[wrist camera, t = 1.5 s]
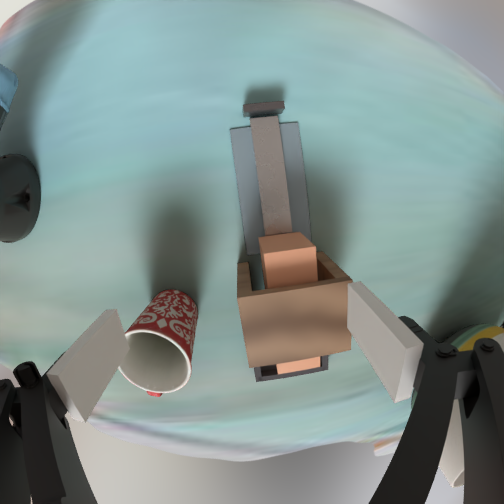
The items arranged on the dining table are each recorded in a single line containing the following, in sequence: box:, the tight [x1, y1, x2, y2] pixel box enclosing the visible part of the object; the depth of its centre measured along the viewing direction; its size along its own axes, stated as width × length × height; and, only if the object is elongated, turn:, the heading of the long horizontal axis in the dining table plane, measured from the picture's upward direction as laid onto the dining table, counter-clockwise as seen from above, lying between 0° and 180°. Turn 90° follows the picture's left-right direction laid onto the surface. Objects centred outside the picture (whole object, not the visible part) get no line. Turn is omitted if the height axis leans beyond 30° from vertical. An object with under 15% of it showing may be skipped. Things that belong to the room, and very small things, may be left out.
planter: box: [411, 324, 504, 488], centre depth 34 cm, size 27×27×27 cm
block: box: [258, 232, 320, 374], centre depth 35 cm, size 16×6×8 cm, turn 8°
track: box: [243, 101, 292, 236], centre depth 36 cm, size 31×5×3 cm, turn 8°
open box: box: [237, 251, 353, 368], centre depth 34 cm, size 9×12×12 cm
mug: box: [118, 290, 198, 397], centre depth 34 cm, size 13×9×14 cm
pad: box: [230, 123, 312, 255], centre depth 36 cm, size 17×9×1 cm, turn 8°
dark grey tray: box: [254, 355, 328, 382], centre depth 42 cm, size 9×12×2 cm
